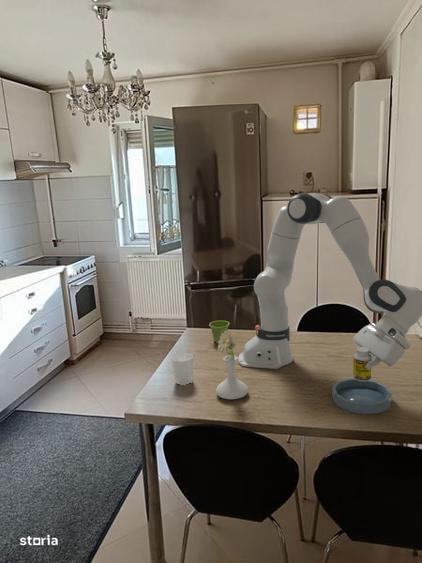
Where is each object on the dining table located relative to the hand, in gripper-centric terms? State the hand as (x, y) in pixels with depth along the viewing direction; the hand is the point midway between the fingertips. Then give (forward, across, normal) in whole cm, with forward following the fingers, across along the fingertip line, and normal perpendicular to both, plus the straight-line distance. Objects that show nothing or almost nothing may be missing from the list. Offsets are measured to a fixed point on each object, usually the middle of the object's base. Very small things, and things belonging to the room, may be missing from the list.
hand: (360, 363), depth 141 cm
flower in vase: (+37, -16, -19) cm, 45 cm away
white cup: (+48, -32, -30) cm, 65 cm away
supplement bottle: (+4, 0, +4) cm, 6 cm away
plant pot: (+32, -69, -14) cm, 77 cm away
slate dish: (+9, 0, +10) cm, 13 cm away
